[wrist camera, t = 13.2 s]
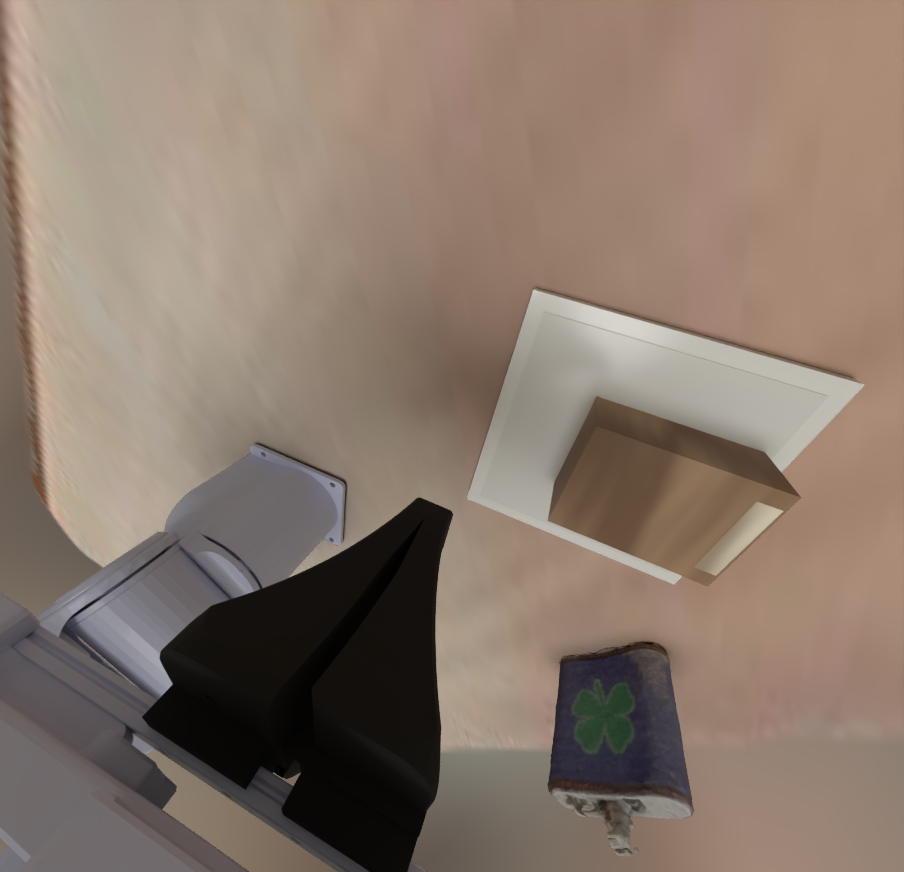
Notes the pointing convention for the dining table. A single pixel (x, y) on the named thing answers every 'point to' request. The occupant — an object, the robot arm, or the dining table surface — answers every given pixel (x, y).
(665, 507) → the walnut block
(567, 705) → the flask
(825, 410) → the stone board
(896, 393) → the dining table surface
